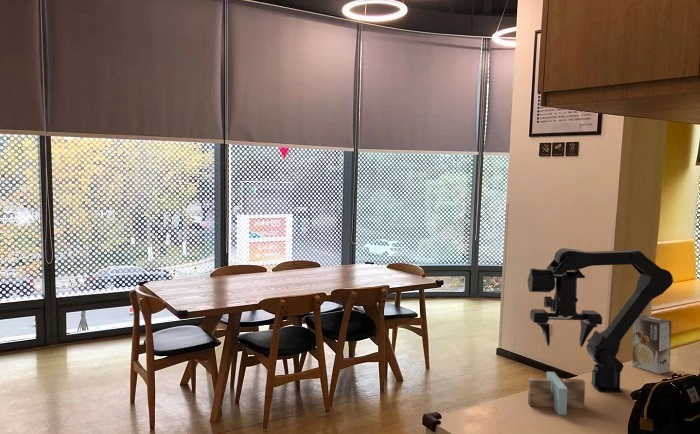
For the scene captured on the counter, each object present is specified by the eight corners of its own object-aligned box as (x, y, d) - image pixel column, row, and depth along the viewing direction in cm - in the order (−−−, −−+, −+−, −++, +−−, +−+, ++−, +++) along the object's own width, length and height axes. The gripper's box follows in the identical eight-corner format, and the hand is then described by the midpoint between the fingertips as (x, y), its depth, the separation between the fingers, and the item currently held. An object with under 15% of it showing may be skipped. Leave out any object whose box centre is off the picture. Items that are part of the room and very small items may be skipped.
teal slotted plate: (566, 415, 138) (567, 388, 137) (558, 415, 138) (559, 388, 137) (553, 396, 150) (554, 371, 149) (546, 396, 150) (546, 371, 149)
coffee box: (671, 371, 169) (673, 320, 168) (658, 374, 166) (660, 323, 165) (643, 362, 177) (645, 314, 176) (630, 365, 174) (632, 316, 173)
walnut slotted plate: (581, 405, 144) (582, 379, 144) (584, 408, 142) (585, 382, 142) (527, 402, 145) (528, 377, 145) (529, 406, 143) (530, 380, 143)
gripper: (590, 287, 162) (588, 338, 163) (526, 286, 164) (525, 336, 165) (603, 295, 151) (601, 350, 152) (535, 294, 153) (533, 348, 154)
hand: (564, 345), depth 156 cm, fingers open, 9 cm apart
